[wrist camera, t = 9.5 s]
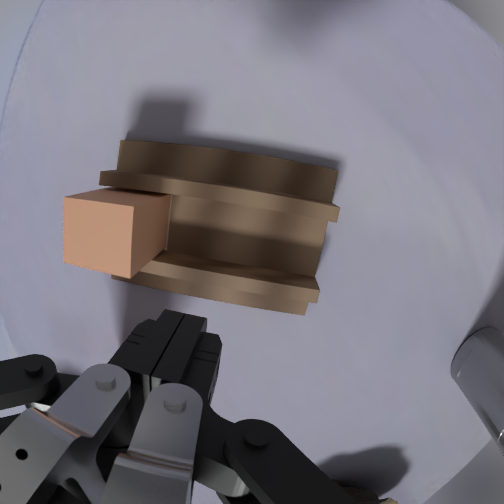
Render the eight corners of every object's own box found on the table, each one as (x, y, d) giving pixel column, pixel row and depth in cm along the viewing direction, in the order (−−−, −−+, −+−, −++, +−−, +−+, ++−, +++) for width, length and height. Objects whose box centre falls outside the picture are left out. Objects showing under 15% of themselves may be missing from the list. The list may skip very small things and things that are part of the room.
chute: (335, 170, 25) (347, 171, 21) (303, 311, 29) (308, 331, 25) (124, 140, 25) (104, 138, 21) (115, 275, 29) (97, 290, 25)
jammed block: (171, 194, 26) (133, 206, 18) (166, 247, 27) (130, 278, 19) (113, 186, 26) (63, 197, 18) (110, 237, 27) (64, 262, 19)
